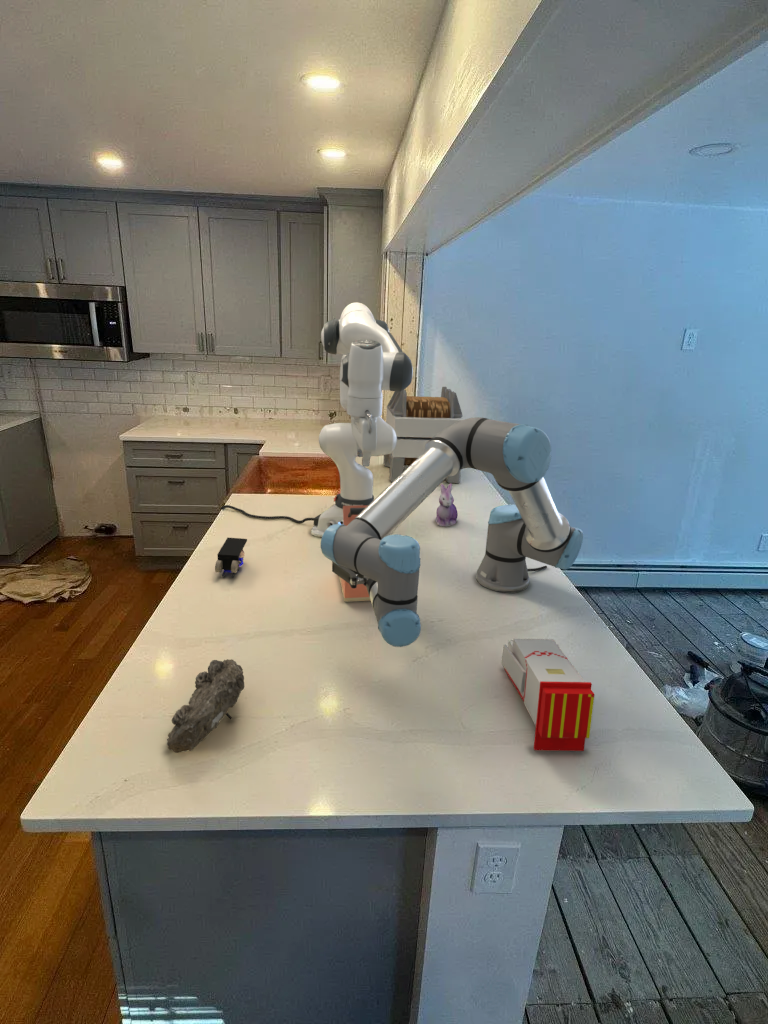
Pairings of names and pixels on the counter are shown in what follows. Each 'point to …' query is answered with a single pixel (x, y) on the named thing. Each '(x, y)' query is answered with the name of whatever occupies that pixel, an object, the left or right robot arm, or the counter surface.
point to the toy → (550, 693)
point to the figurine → (446, 508)
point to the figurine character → (230, 556)
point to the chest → (354, 592)
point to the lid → (351, 513)
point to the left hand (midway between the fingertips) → (363, 460)
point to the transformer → (418, 426)
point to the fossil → (206, 705)
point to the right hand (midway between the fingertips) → (371, 550)
